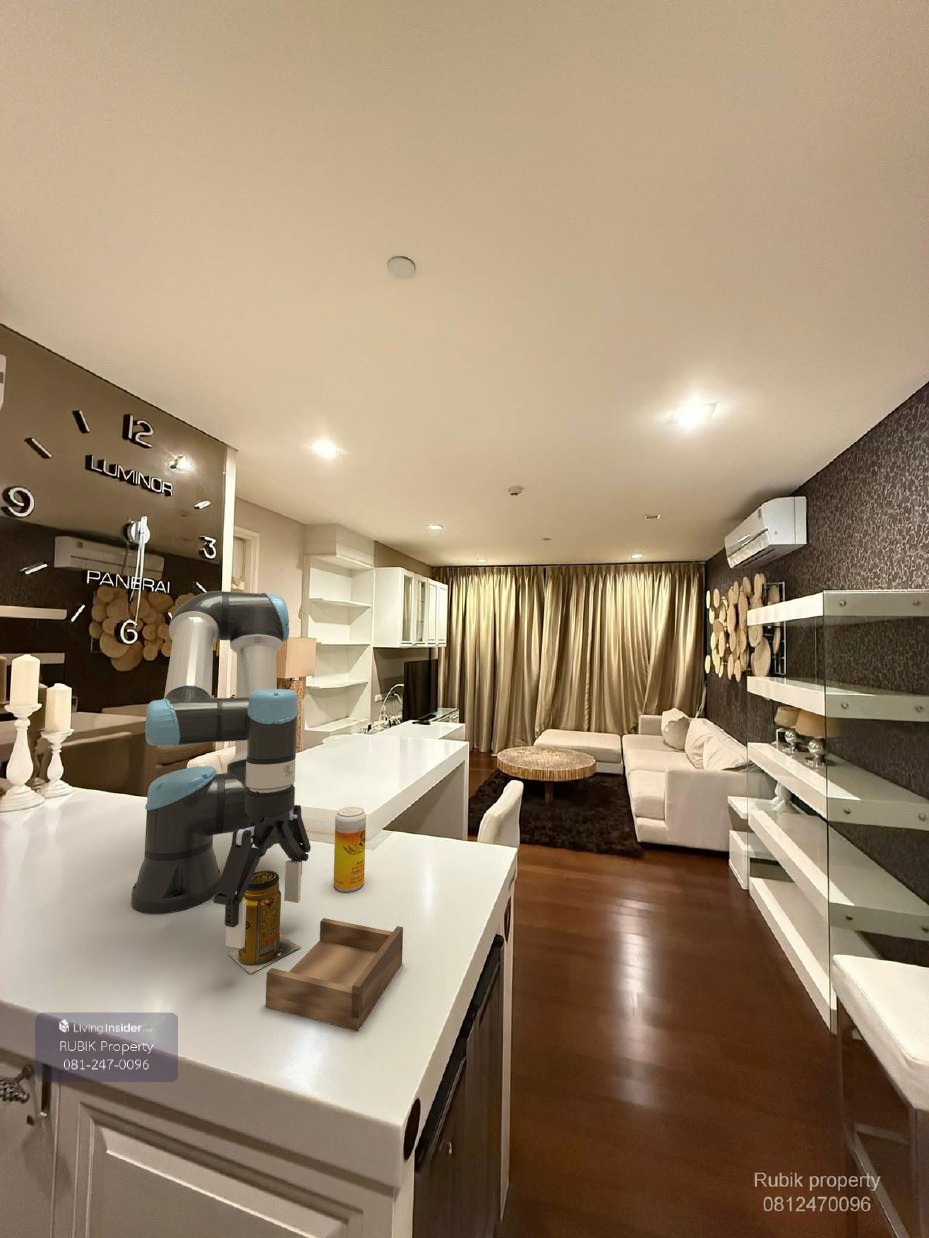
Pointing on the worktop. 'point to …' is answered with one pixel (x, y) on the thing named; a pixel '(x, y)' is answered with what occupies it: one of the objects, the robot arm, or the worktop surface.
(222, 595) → the robot arm
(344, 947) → the wooden serving tray
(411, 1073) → the worktop surface
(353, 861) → the beer can
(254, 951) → the condiment
